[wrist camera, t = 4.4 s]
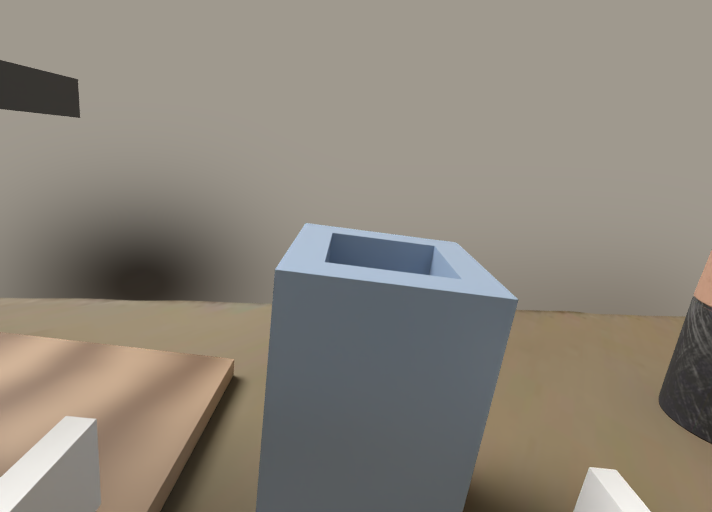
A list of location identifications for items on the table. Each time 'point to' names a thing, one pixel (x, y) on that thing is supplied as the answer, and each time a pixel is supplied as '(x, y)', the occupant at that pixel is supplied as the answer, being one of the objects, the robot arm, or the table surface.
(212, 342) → the table surface
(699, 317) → the travel mug
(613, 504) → the robot arm
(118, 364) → the post stand
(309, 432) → the sleeve
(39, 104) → the collar
